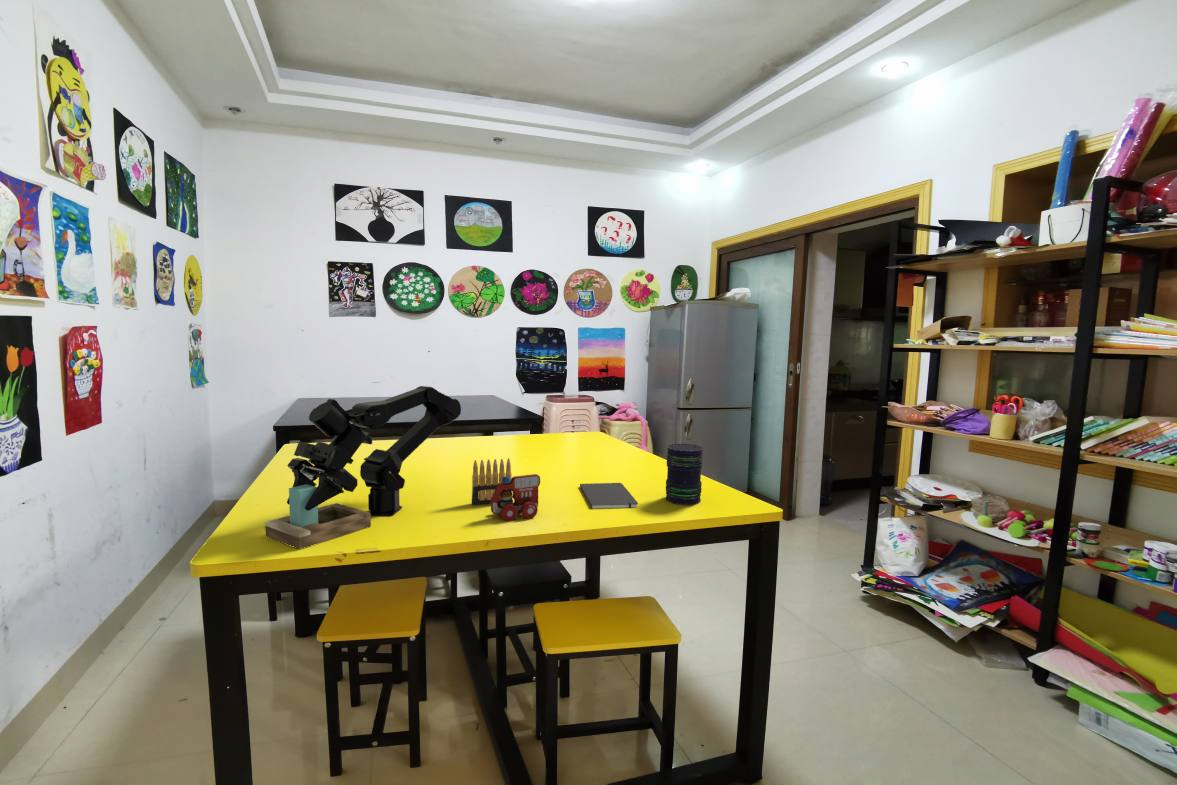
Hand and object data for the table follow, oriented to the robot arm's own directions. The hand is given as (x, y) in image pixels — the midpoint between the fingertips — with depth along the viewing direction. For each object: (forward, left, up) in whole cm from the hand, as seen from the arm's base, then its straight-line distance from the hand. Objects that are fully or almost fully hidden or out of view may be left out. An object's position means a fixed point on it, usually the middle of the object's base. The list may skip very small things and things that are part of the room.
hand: (297, 506), depth 120 cm
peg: (-1, -1, -7) cm, 7 cm away
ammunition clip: (-36, -29, -7) cm, 47 cm away
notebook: (-67, -39, -8) cm, 78 cm away
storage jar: (-88, -38, -7) cm, 96 cm away
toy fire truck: (-44, -19, -7) cm, 49 cm away
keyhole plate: (-3, -4, -7) cm, 9 cm away
